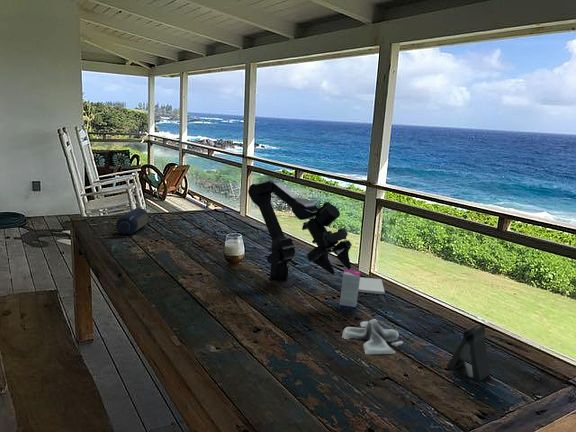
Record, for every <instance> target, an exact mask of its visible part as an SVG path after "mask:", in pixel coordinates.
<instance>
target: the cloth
mask: <svg viewBox="0 0 576 432" xmlns="http://www.w3.org/2000/svg"><path fill="white" fill-rule="evenodd" d="M359 325H360V327H354V326H348V327H344V329H343V331H342V334H341V335H342V336H341V338H342V339H343V338H344V339H347V340H350V338H355V339H356V340H362V339H365V341H366V342H364V343H363V344H362V345H363V346H362V347H363V350H364V352H365V353H364V354H365V355H392V354H393V355H394V354H396V351H395V350H394V349H393V348H391V347H390V346H389V344H388V343H390V342H391V343H390V344H391V345H392V346H394V347H398V346H401V345H403V344H404V341H403V340H398V338H399V335H400V334H399V331H397V330H395V329H394V328H389V329H387V328H383V326H381V324H379V322H378V320H377V319H376V318H374V319H370V320H369V321H361V322H360V323H359ZM344 339H343V340H344ZM355 339H354V340H355ZM366 339H367V340H366ZM397 340H398V341H397ZM387 341H388V343H387Z"/></svg>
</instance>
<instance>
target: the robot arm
mask: <svg viewBox="0 0 576 432" xmlns="http://www.w3.org/2000/svg"><path fill="white" fill-rule="evenodd" d="M247 193H248V196H249V197H250V200H251V201H252V202H253V204H255V206H257V207H258V208H259V212H260V214H261V216H262V219H263V220H264V223H265V226H266V229H267V231H268V234H269V236H270V238H271V245H270V246H271V247H270V249H271V253H270V254H269V255H268V256H266V261H267V263H268V264H270V272H269V273H270V276H269V280H275V281H276V280H277V281H287V279H288V278H289V270H290V266H289V264H288V263H291V262H292V261H293V258H294V256H295V253H296V249H295V248H296V246H295V244H294V243H293V239H292V237H286V236H285V235H284V231H283V229H282V227H281V224H280V222H279V220H278V218H277V215H276V212H275V210H274V207H273V205H272V202H271V201H272V197H273V196H272V194H274V195H275V196H276V197H278V198H279V199H280V200H282V201H283V202H284V203H285V204H287V205H288V206H289V207H290V208H291V211H292V213H293V214H294V215H295V217H296V218H297V220H300V221H304V220H308V221H304V222H303V223H302V226H301V229H302V231H305V230H307V231H308V233H309V234H310V235H311V238H312V239H313V240H312V241H311V242H312V244H316V247H313V248H312V249H311V250H310V251H309V252H308V253H307V255H306V257H307V260H308V262H309V263H312V264H315V265H317V266H319V267H321V268H322V269H323V270H324V271H327V273H329V274H331V275H333V276H334V275H335V274H336V273H335V270H334V267H333V266H332V263H331V261H330V259H329V254H331V253H333V254H334V255H336V256H335V258H337V260H339V262H340V263H341V264H342V265H343V266H344V267H345V268H346V270H351V269H352V265H351V261H350V256H349V255H350V254H349V252H350V249H351V247H352V246H353V244H352V242H351V241H350V240H348V239H347V237H348V235H349V233H348V231H347V229H345V227H341V228H337V231H335V232H332V230H328V229H327V227H329V226H330V225H332V224H333V223H334V222H335V221H336V220H337V219H338V218H339V217H340V215H341V213H340V210H339V208H337V207H336V206H335V205H334V204H331V202H330V201H325V202H324V203H323V204H322V206H321V207H318V206H317V205H316V204H315V202H312V201H310V200H308V199H304V198H301V197H300V196H298V195H297V194H296V193H294V192H293V191H291V189H289V188H288V187H287V186H285V185H284V184H283V183H282V181H280V180H278V179H271V180H268V181H265V182H262V183H252V184H251V185H249V187H248V190H247Z"/></svg>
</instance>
